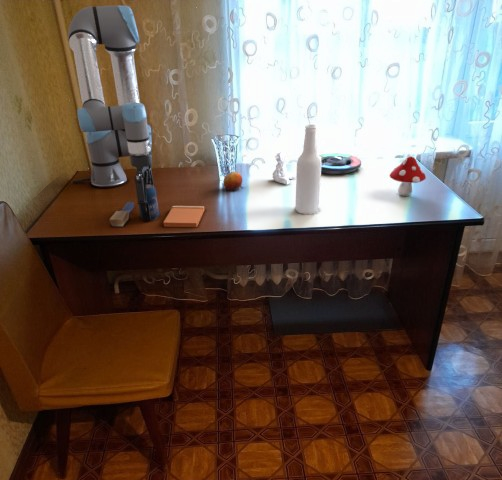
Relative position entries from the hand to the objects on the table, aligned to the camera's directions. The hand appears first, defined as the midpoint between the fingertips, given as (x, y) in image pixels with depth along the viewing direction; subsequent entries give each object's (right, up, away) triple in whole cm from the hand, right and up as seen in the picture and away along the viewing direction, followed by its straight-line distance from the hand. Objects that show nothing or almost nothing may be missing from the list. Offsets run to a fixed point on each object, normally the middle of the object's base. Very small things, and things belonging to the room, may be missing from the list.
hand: (149, 216), depth 178 cm
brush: (-10, 0, +1) cm, 10 cm away
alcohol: (+59, +3, +3) cm, 59 cm away
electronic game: (+77, +33, +44) cm, 94 cm away
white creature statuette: (+51, +23, +31) cm, 64 cm away
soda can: (0, 0, 0) cm, 1 cm away
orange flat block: (+13, -1, -1) cm, 13 cm away
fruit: (+30, +17, +24) cm, 42 cm away
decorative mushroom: (+99, +12, +14) cm, 101 cm away
